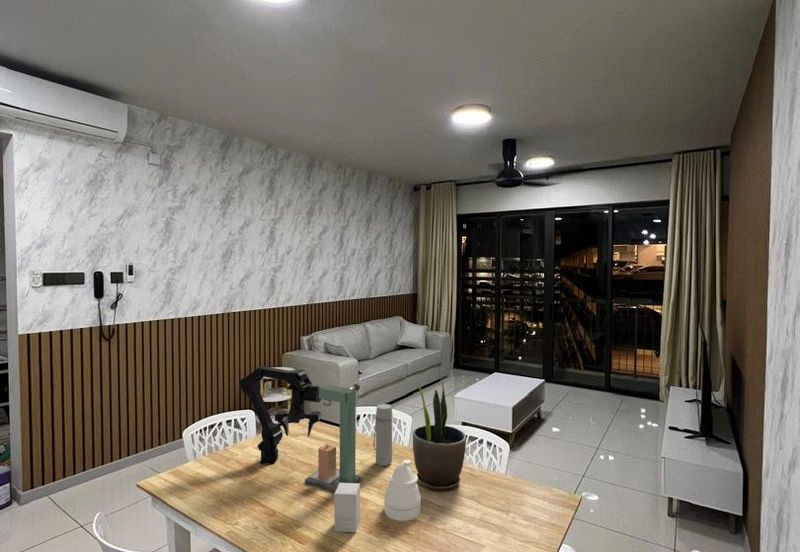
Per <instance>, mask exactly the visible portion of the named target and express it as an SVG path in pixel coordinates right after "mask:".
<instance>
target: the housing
mask: <svg viewBox="0 0 800 552" xmlns="http://www.w3.org/2000/svg"><path fill="white" fill-rule="evenodd" d="M317 457H318V459H317V460H318V464H317V465H318V468H317V471H318V476H321V477H324V478H327V479H329V478H330V477H332V476H333V475H335V474H336V469H337V446H336V445H331V444H330V443H329V442H326V443H325V444H324V445H322V446H320V447H319V448H318V455H317Z"/></svg>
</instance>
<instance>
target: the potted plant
mask: <svg viewBox="0 0 800 552" xmlns="http://www.w3.org/2000/svg"><path fill="white" fill-rule="evenodd" d="M415 383H416V384H417V385H418V388H419V393H420V396H421V399H422V407H423V415H424V423H425V425H421V426H419V427H417V428H414V430H413V431H412V451H413V460H414V465H415V469H416V471H417V474H416V475H417V477H418V480H417V482H418V483H419V485H420V486H422V488H423V487H424V488H425V489H427V490H429V491H434V492H443V493H444V492H449V491H452V490H454V489H456V488H457V487H458V485H459V483H460V482H461V476H460V475H461V473H462V470H463V466H464V462H465V456H466V455H465V453H466V448H467V447H466V446H467V435H466V434H465V432H464V431H462V430H461V429H459V428H457V427H453V426H449V425H447V419H448V404H447V401H446V393H445V392H446V391H445V388H444V387H445V386H444V381H442V383H441V387H442V392H441V399H440V395H439V393H438V389H434V395H433V399H432V407H433V415H434V416H433V417H434V424H431V419H430V415H429V411H428V409H427V406H426V403H425V398H424V394H423V390H422V388H421V385H420V383H419V382H418V381H417V380H415Z"/></svg>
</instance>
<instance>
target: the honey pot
mask: <svg viewBox="0 0 800 552" xmlns="http://www.w3.org/2000/svg"><path fill="white" fill-rule="evenodd" d="M411 463H412V461H411V460H410V459H405V460H403V462H401V463H399V464H398V465H397V466H396V467H395V469H394V471H393V473H391V474H390V476H389V483H388V484H387V488H386V491H385V493H384V504H383V505H384V507H383V509H384V514H385V515H386V516H387V517H388V518H389V519H392V520H394V521H398V522H406V521H411V520H414V519H416V518H418V517H419V516H420V514H421V512H422V511H421V510H422V509H421V508H422V501H421V500H422V499H421V498H422V497H421V492H420V489H419V486H418V483H417V482H418V477H417V474H416V473H414V472H413V471H412V469H411V468H410V465H411Z"/></svg>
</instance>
